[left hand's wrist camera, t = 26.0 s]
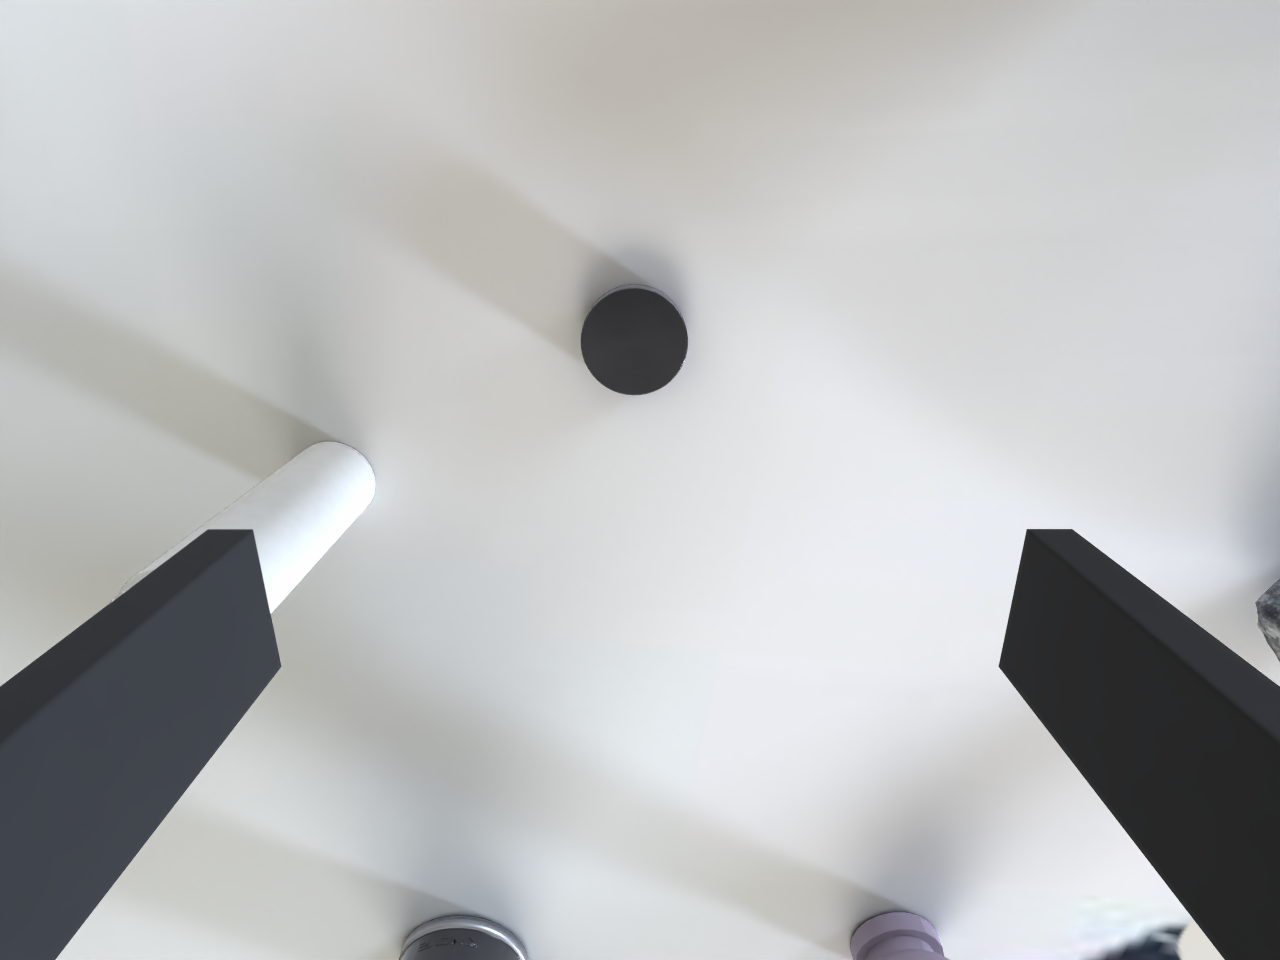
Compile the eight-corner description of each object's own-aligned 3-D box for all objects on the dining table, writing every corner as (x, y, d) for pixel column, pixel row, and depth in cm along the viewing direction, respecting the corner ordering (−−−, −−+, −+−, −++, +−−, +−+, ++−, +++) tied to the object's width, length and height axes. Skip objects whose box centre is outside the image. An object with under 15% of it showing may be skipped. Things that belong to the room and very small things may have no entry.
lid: (683, 388, 39) (685, 396, 38) (583, 385, 39) (580, 393, 38) (688, 285, 37) (690, 289, 36) (583, 282, 37) (581, 286, 36)
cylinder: (285, 444, 40) (65, 595, 25) (366, 438, 40) (196, 585, 25) (305, 519, 42) (110, 704, 27) (383, 513, 42) (232, 696, 26)
